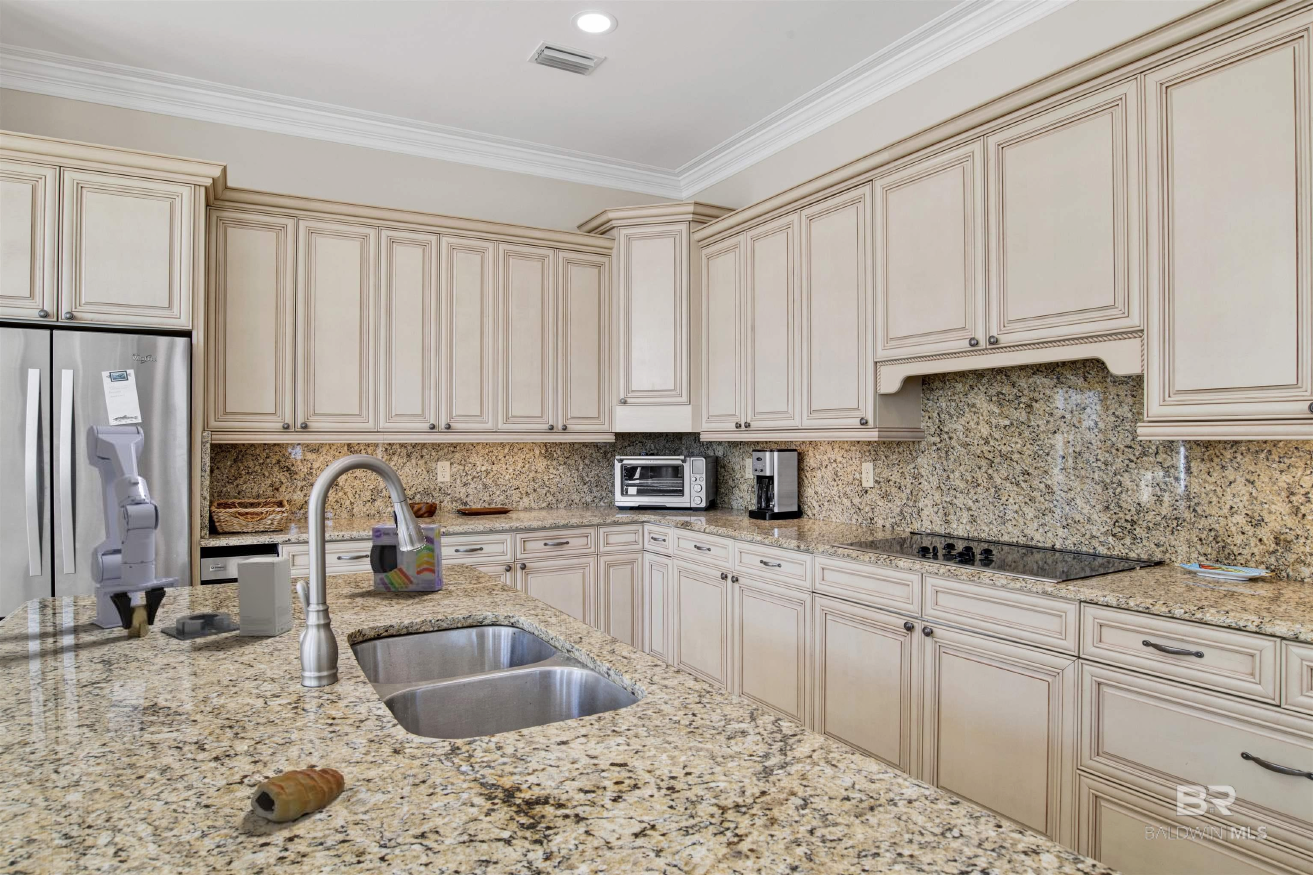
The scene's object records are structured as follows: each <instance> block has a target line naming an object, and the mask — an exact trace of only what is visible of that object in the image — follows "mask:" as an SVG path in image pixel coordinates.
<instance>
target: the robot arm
mask: <svg viewBox="0 0 1313 875" xmlns="http://www.w3.org/2000/svg"><path fill="white" fill-rule="evenodd" d="M144 435H145V434H144V430H143V429H142V428H141V426H140V425H135V426H121V425H120V426H113V425H111V426H109V425H107V426H106V425H103V426H102V425H90V427H88V429H87V430H86V436H85V437H86V438H85V439H86V440H85V441H86V442H85V443H86V454H87V457H86V458H87V461H88V465H89V466H92V467H93V468H96V469H97V470H98V473H99V478H100V484H101V486H100V487H101V497H102V507H103V508H102V509H103V519H104V521H103V522H104V531H105V540H104V541H102V542H100V543H99V544H98V545H96V546H95V547H94V548H93V550H92V552H91V554H90V555H91V561H90V575H91V579H92V581H93V582H94V583H95V584H98V585H99V586H97V587H94V598H96V618H95V619H91V623H93V624H95V625H97V626H99V627H101V628H103V629H109V628H116V627H121V626H122V629H123V630H126V631H128V629H130V606H131V605H136V604H141V592H144V597H145V604H149V627H150V626H151V627H152V626H154V624H155V620H156V619H155V618H156V616H157V612H158V610H159V608H160V606H161V603H162V602H163V600H164V598H165V597H166V594H167V591H166V590H165V589H169V588H174V589H175V588H179V587H180V577H176V576H174V577H163V578H155V577H156V573H155V572H156V571H155V570H156V557H155V556H156V531H157V530H158V528H159V523H160V511H159V507H158V504H157V502H155V500H154V499H151V496H150V492H149V489H148V485H147V484H148V483H147V481H146V479H145V478H143V477H141V476H139V473H138V461H139V459H140V457H141V454H142V451H143V449H144V446H145V445H144V444H145V436H144Z"/></svg>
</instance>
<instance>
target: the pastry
mask: <svg viewBox="0 0 1313 875" xmlns="http://www.w3.org/2000/svg"><path fill="white" fill-rule="evenodd" d="M345 786H346V782H345V778H344V775H343V774H342V773H341V772H339V770H337V769H334V768H331V767H323V768H320V769H316V768H307V769H305V768H304V769H301V770H293V769H292V770H290V771H289V770H287V771H285V772H284V773H283V774H282V775H281V774H280V775H274V776H272V777H269V778H268V779H267V781H265V782H261V783H259V784H258V785H257V788H256V790H254V792H253V795H252V797H251V800H250V807H251V808H252V809H253V812H254V813H255V816H258V817H260V818H264V819H268V820H270V821H273V822H276V823H278V822H279V823H280V822H290V821H293V820H296V819H299V818H301V816H302V815H304V814H307V813H308V814H311V813H313V812H315V811H318V810H319V808H322V807H324V806H326V805H327V804H329V803H330V802H332V801H334V800H335V799H337V798H338V797H339V796H340V795H341V793H342V792H343V791H344V789H345Z"/></svg>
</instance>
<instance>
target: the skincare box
mask: <svg viewBox="0 0 1313 875" xmlns="http://www.w3.org/2000/svg"><path fill="white" fill-rule="evenodd" d="M291 563H292V562H291V556H282V557H281V556H277V557H275V556H274V557H273V556H272V557H271V556H270V557H269V556H268V557H266V556H265V557H251V558H249V559H247V560H246V559H245V560H243V561H239V562H237V567H236V568H237V592H238V593H237V594H238V617H239V618H238V620H239V623H238V624H240V630H239V636H240V637H276V636H279V635H282V634H284V633H286V632H288V631H290V630H292V629H293V628H294V627H293V625H294V624H293V622H294V621H293V598H292V596H293V595H292V592H293V591H292V569H291V568H292V567H291Z"/></svg>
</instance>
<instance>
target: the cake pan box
mask: <svg viewBox="0 0 1313 875" xmlns="http://www.w3.org/2000/svg"><path fill="white" fill-rule="evenodd" d="M419 525H420V526H421V529H422V530H423V533H424V536H425V539H426V544H425V546H424V547H423V548H421V549H419V550H416V551H407V552H405V551H401V550H400V548H399V541H398V533H397V528H396V524H389V523H388V524H377V525H375V526H372V528H371V535H372V536H371V537H372V538H371V539H372V540H371V541H372V542H371V543H372V544H371V548H370V552H369V564H370V567H371V570H372V572H373V591H387V592H388V591H392V592H396V591H398V592H401V591H402V592H436V591H439V590H442V589H443V588H444V580H443V575H444V574H443V557H442V555H443V554H442V536H441V534H442V532H441V531H442V530H441V528H442V526H441V524H419Z"/></svg>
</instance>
